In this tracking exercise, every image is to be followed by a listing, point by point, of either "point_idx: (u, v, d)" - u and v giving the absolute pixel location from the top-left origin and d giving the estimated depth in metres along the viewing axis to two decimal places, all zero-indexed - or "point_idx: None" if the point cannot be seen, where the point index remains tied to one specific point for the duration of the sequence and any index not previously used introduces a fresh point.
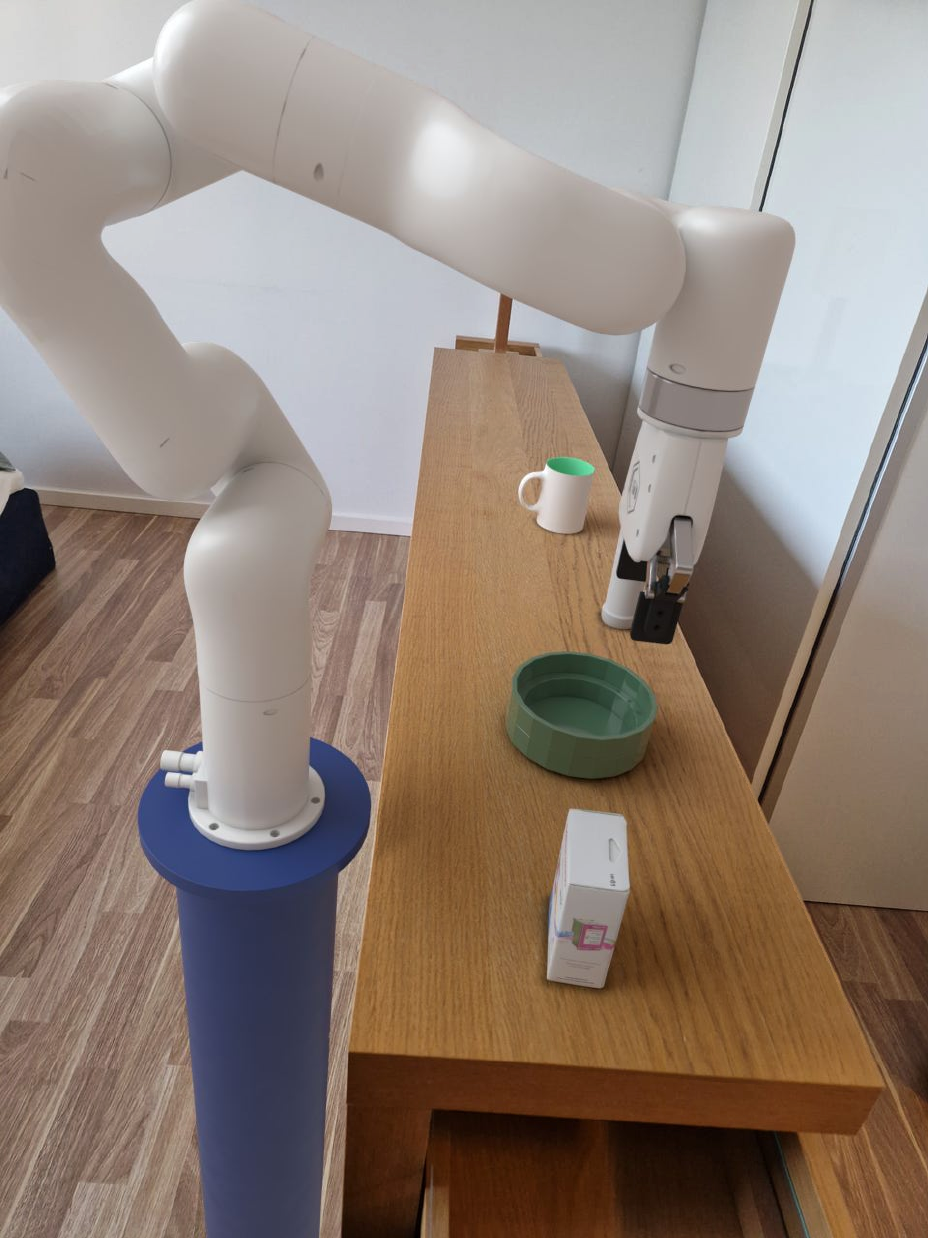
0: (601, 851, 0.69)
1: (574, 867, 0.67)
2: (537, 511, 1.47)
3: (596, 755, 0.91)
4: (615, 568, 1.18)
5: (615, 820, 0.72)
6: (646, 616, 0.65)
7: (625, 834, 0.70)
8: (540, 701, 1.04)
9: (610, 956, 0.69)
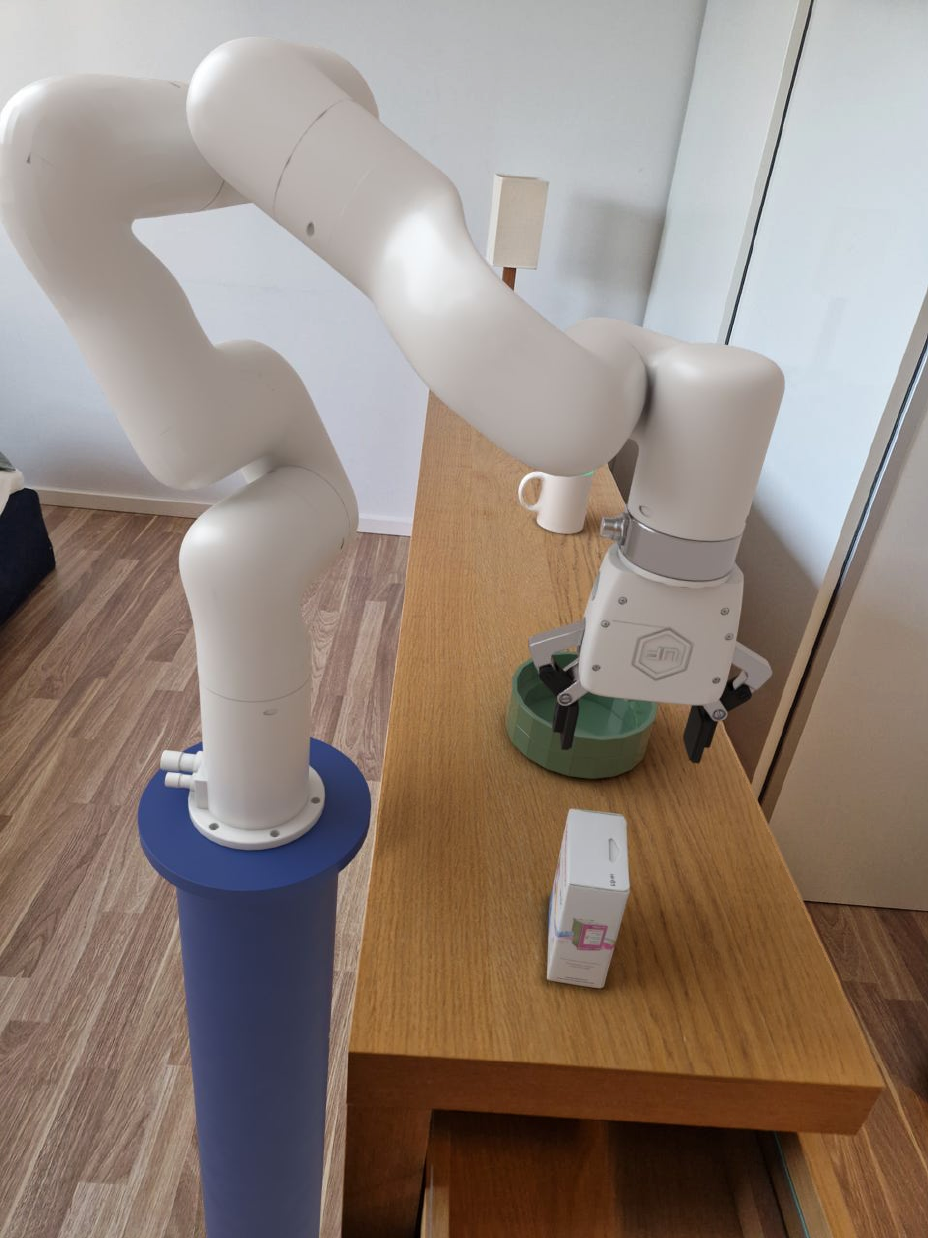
0: (601, 851, 0.69)
1: (574, 867, 0.67)
2: (537, 511, 1.47)
3: (596, 755, 0.91)
4: None
5: (615, 820, 0.72)
6: None
7: (625, 834, 0.70)
8: (540, 701, 1.04)
9: (610, 956, 0.69)
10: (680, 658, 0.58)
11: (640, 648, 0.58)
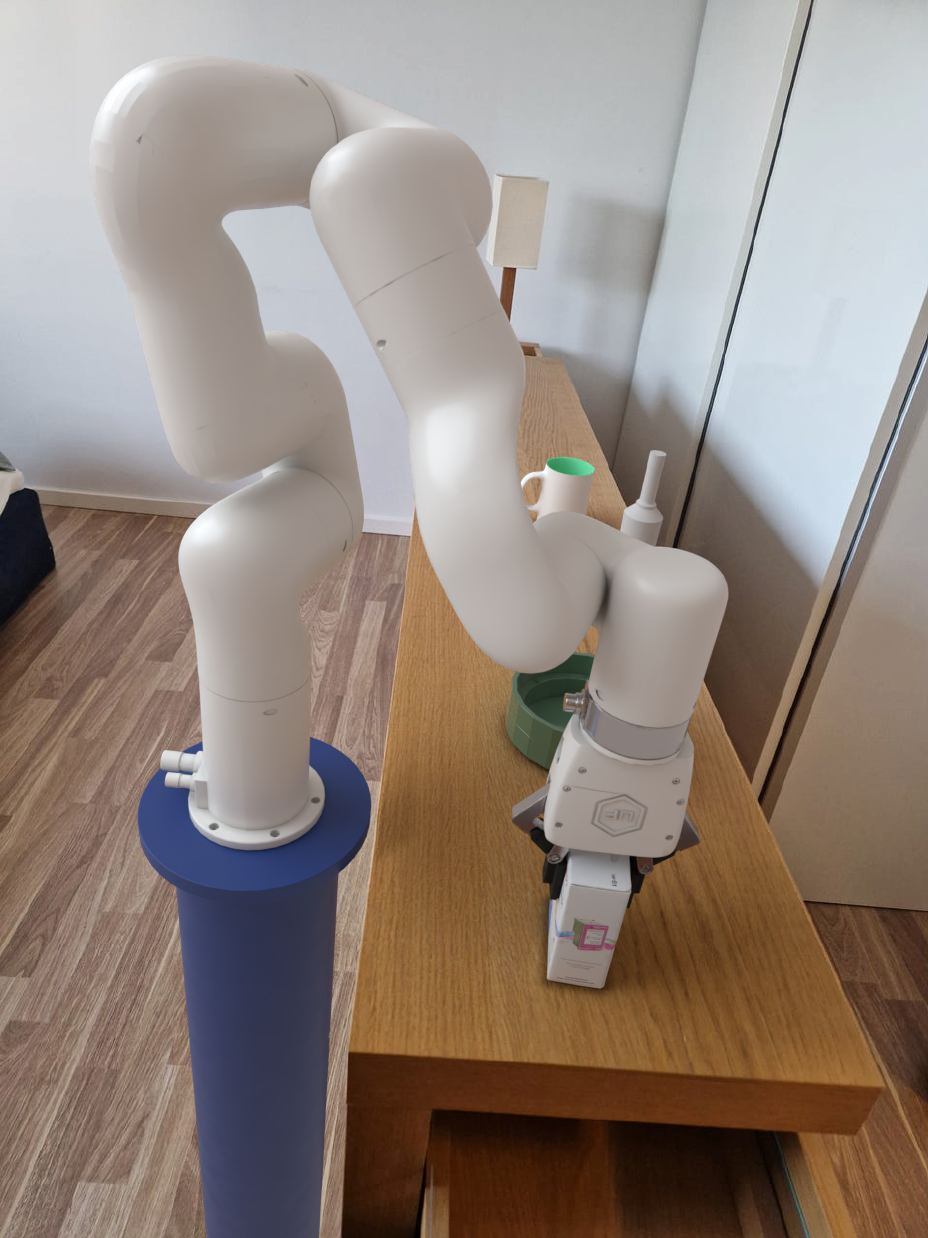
0: None
1: (575, 867, 0.67)
2: (537, 511, 1.47)
3: None
4: None
5: None
6: None
7: None
8: (540, 701, 1.04)
9: (610, 956, 0.69)
10: (635, 819, 0.64)
11: (599, 810, 0.63)
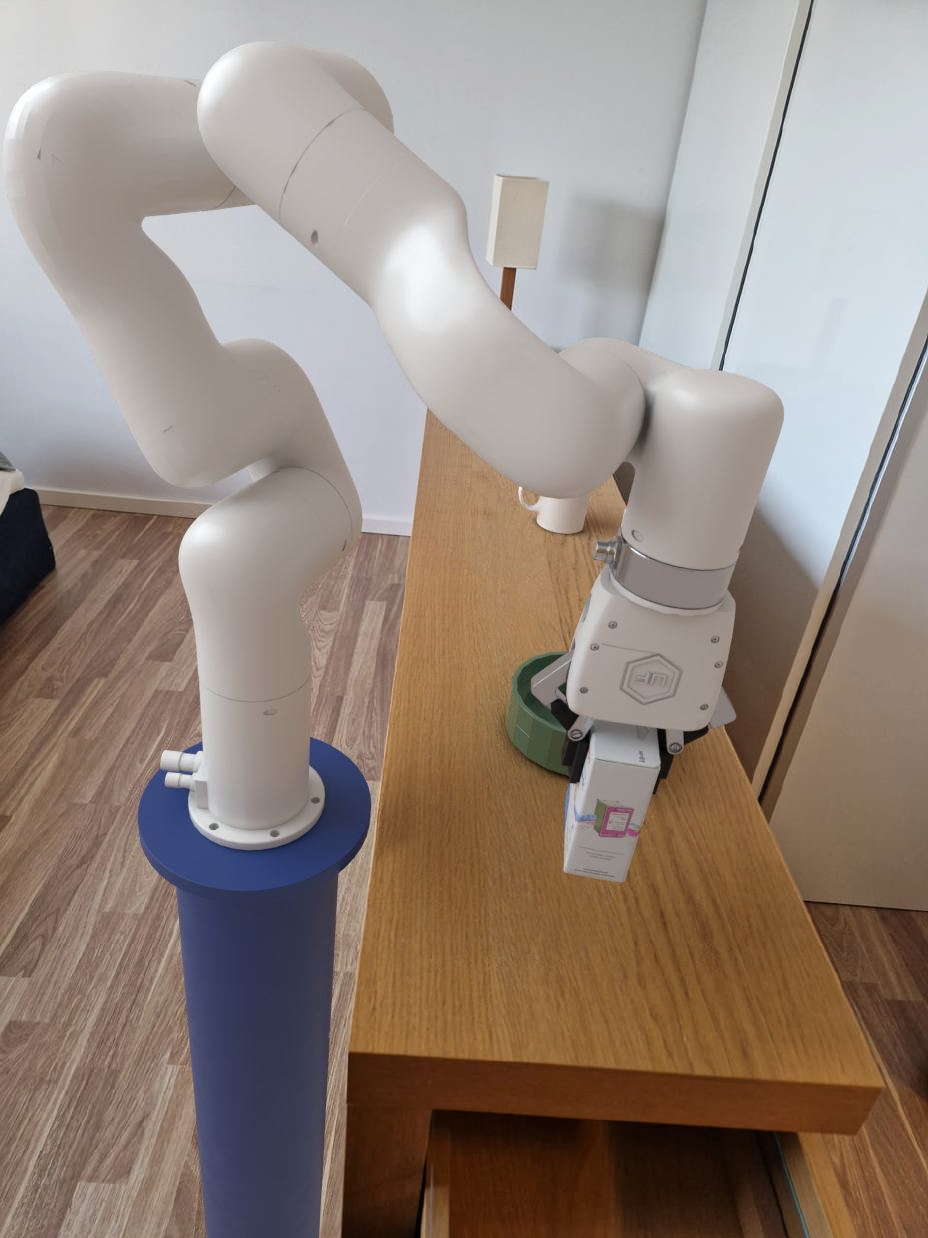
0: (629, 729, 0.63)
1: (599, 743, 0.61)
2: (537, 511, 1.47)
3: None
4: None
5: None
6: None
7: None
8: None
9: (634, 845, 0.64)
10: (669, 684, 0.58)
11: (629, 672, 0.58)
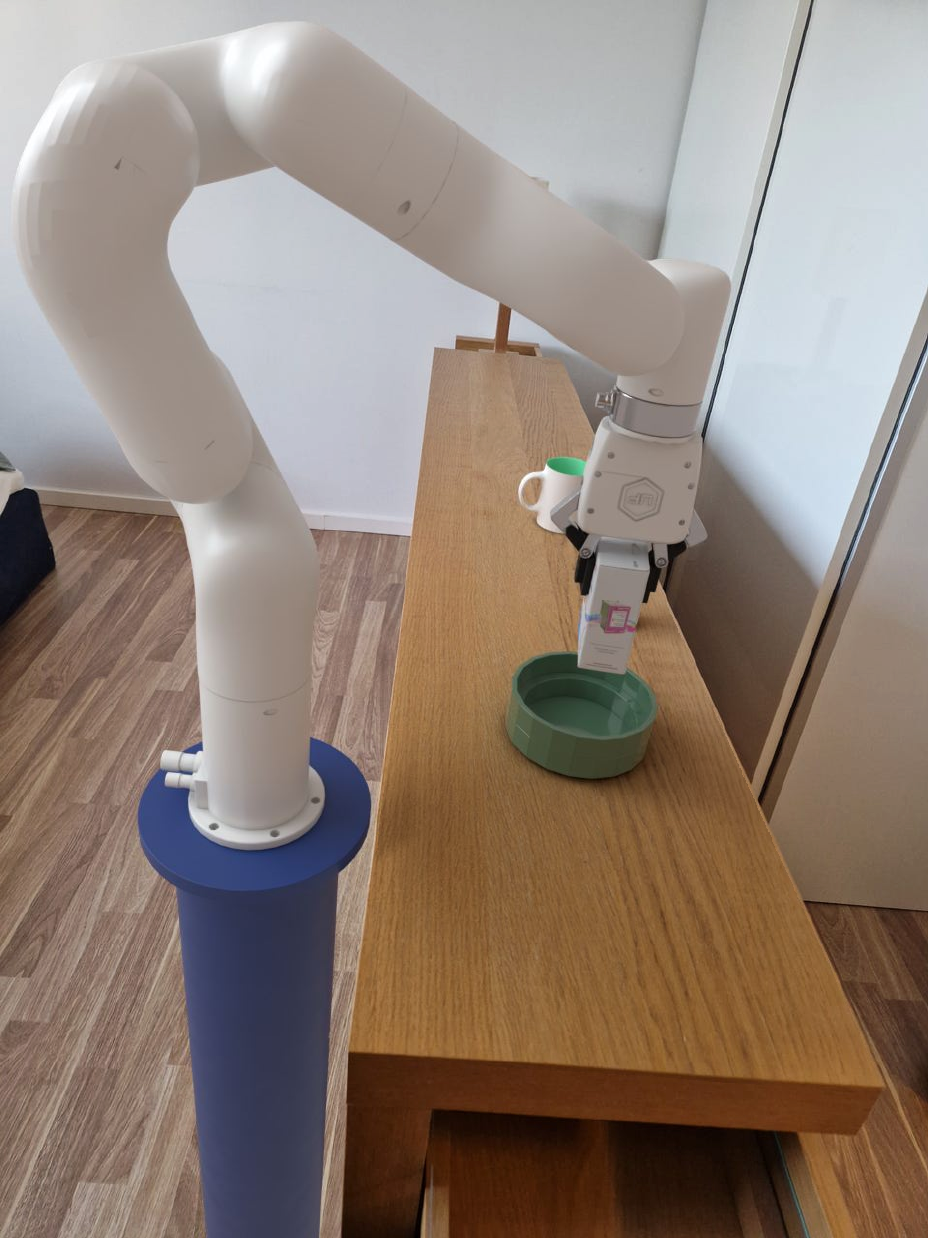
0: (626, 549, 0.82)
1: (603, 556, 0.81)
2: (537, 511, 1.47)
3: (596, 755, 0.91)
4: None
5: None
6: None
7: None
8: (540, 701, 1.04)
9: (631, 639, 0.83)
10: (654, 503, 0.77)
11: (624, 494, 0.77)
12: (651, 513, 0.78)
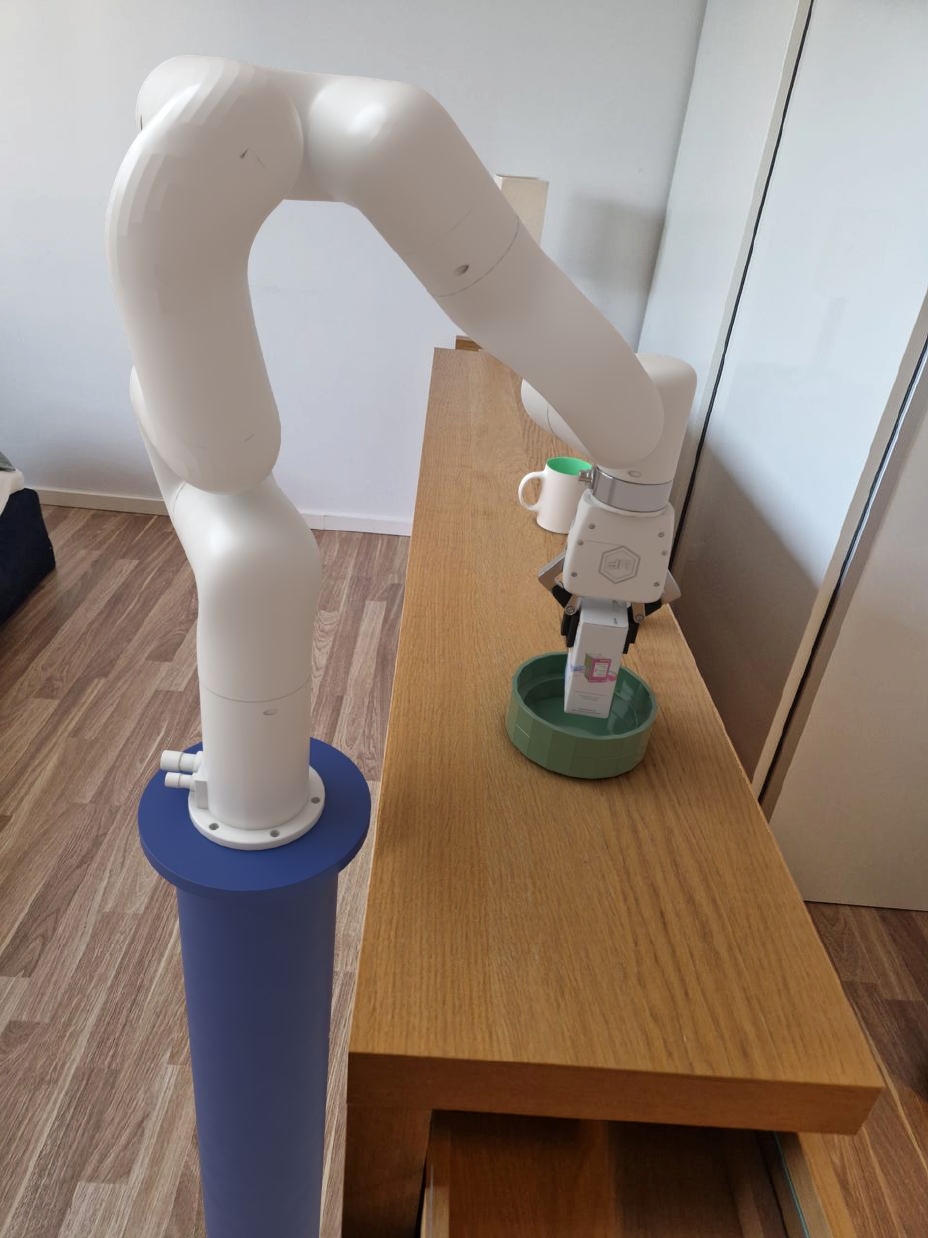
0: (607, 606, 0.91)
1: (586, 614, 0.89)
2: (537, 511, 1.47)
3: (596, 755, 0.91)
4: None
5: None
6: (631, 633, 0.92)
7: None
8: (540, 701, 1.04)
9: (613, 688, 0.91)
10: (631, 567, 0.85)
11: (604, 560, 0.85)
12: (629, 576, 0.86)
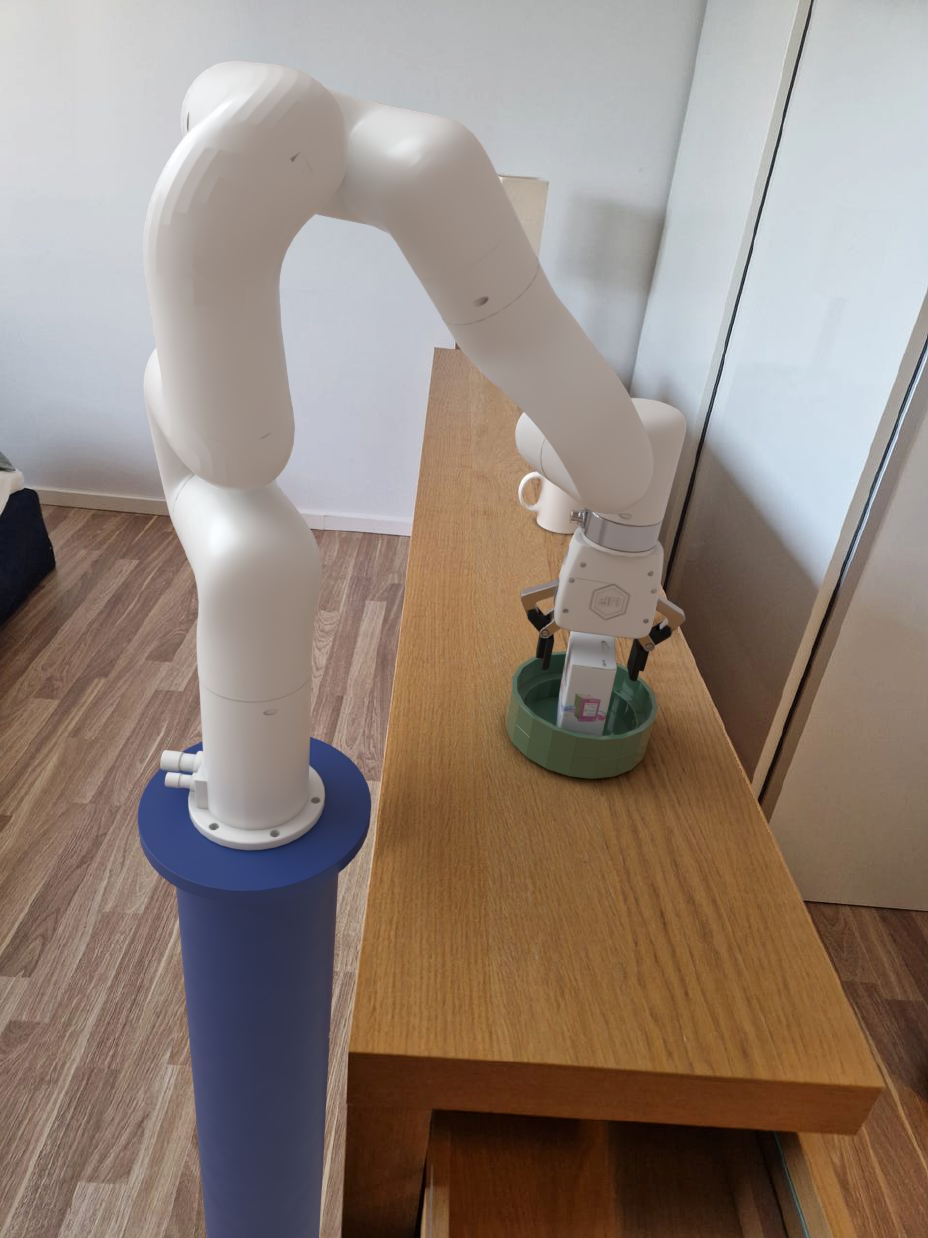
0: (596, 647, 0.93)
1: (576, 655, 0.92)
2: (537, 511, 1.47)
3: (596, 755, 0.91)
4: None
5: None
6: None
7: (614, 638, 0.95)
8: (540, 701, 1.04)
9: (602, 726, 0.94)
10: (621, 605, 0.88)
11: (594, 597, 0.87)
12: (619, 613, 0.88)
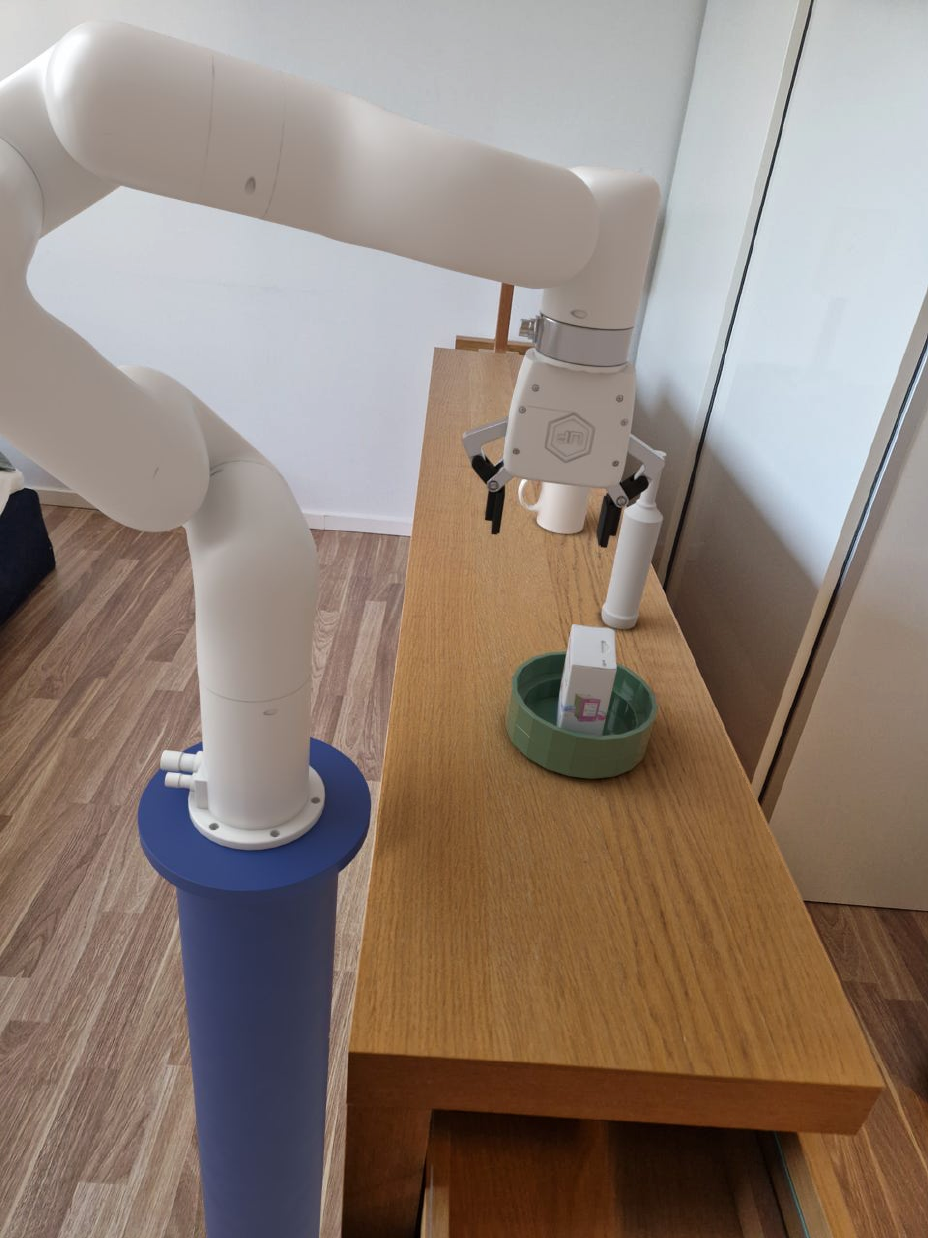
0: (596, 647, 0.93)
1: (576, 655, 0.92)
2: (537, 511, 1.47)
3: (596, 755, 0.91)
4: (615, 568, 1.18)
5: (606, 630, 0.96)
6: (612, 522, 0.76)
7: (614, 638, 0.95)
8: (540, 701, 1.04)
9: (602, 726, 0.94)
10: (584, 441, 0.71)
11: (551, 432, 0.70)
12: (582, 453, 0.71)
